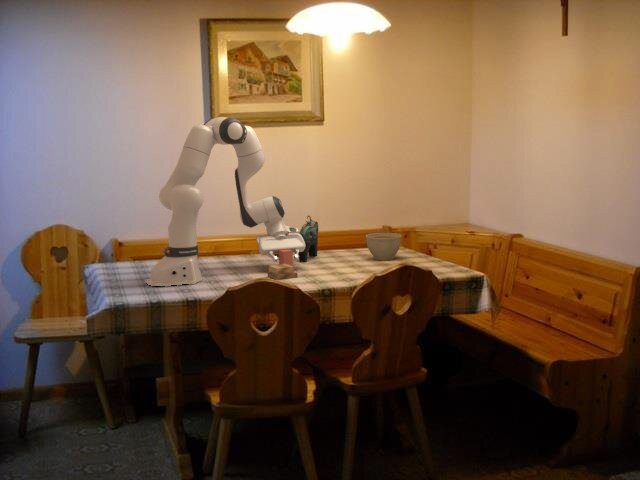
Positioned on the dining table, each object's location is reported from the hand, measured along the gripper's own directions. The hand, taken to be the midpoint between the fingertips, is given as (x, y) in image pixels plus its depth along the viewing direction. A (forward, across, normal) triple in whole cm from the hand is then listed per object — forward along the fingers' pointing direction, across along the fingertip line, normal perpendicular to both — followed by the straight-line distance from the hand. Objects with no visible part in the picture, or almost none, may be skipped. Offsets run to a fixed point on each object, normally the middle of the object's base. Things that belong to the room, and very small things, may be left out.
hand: (286, 260), depth 323 cm
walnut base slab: (+11, -5, -3) cm, 13 cm away
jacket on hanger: (-14, +20, +21) cm, 32 cm away
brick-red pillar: (+3, 0, +4) cm, 5 cm away
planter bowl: (-2, +50, +10) cm, 51 cm away
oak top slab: (+9, -6, -5) cm, 12 cm away
